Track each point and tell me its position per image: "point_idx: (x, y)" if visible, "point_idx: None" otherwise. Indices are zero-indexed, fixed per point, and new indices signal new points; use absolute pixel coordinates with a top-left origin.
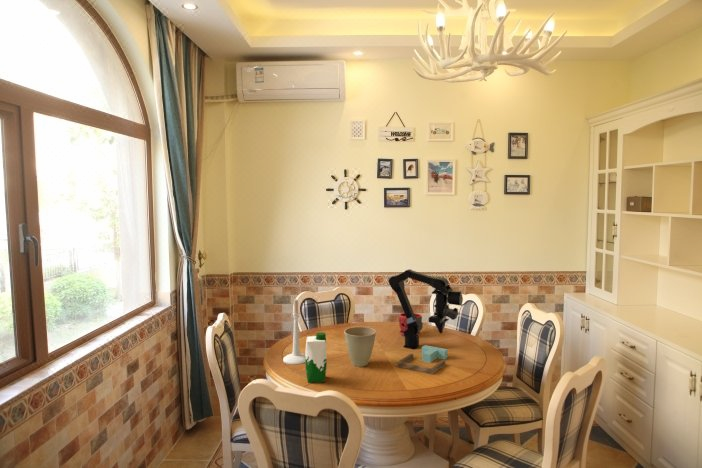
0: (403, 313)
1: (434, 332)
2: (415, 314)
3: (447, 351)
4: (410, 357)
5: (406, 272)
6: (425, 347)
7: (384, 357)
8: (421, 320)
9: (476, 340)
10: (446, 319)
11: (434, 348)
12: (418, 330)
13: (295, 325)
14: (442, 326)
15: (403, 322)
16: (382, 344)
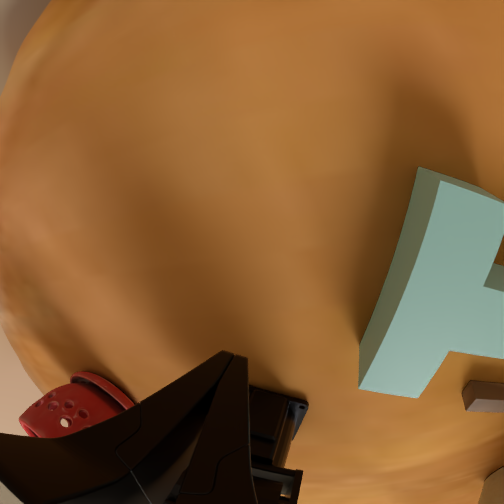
0: None
1: (27, 307)
2: (29, 429)
3: (436, 176)
4: (502, 393)
5: None
6: (421, 378)
7: (454, 458)
8: (42, 411)
9: (5, 95)
10: (7, 483)
11: (439, 313)
12: (271, 500)
13: None
14: (230, 460)
15: None
16: None
